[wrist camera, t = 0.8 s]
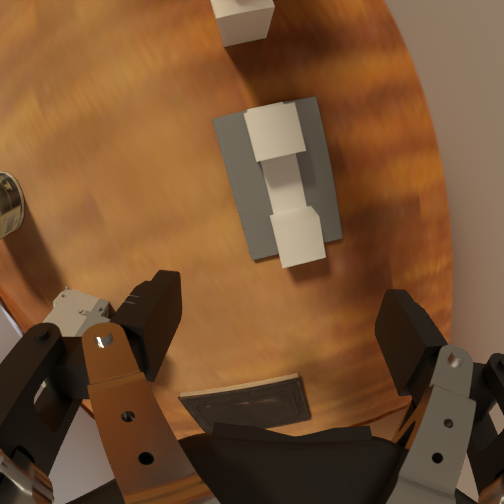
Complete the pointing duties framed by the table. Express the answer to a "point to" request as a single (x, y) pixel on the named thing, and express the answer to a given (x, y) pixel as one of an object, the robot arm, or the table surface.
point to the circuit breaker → (77, 313)
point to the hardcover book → (250, 404)
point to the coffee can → (10, 204)
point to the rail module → (242, 19)
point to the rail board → (281, 179)
